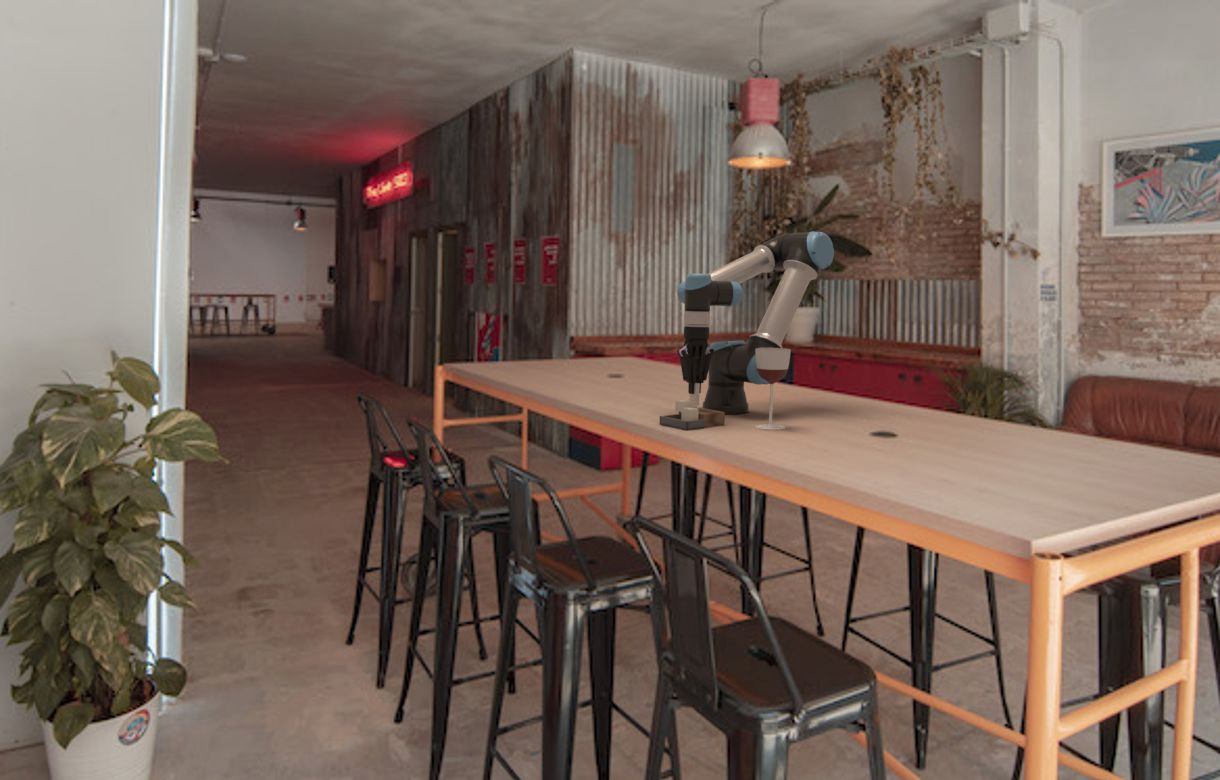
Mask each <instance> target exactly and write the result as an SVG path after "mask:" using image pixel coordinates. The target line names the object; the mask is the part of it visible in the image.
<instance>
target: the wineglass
mask: <svg viewBox="0 0 1220 780" xmlns="http://www.w3.org/2000/svg"><path fill="white" fill-rule="evenodd" d="M791 352H792V351H791V349H790V348H783V347H782V348H756V364H757V371H758V374H759V376H760V377H761V378H763V379H764V380H766V381H767V382H769V383H770V384H769V385H770V386H769V387H770V388H769V411H768V412H769V414H768V415H769V417H768V423H767V424H757V425H755V427H756V428H758V429H763V430H784V429H785V428H786V426H784V425H779V424H773V408H774V407H773V406H774V403H773V402H774V384H775V383H777V382H778V381H781V380H782V379H785V377H786V376H787V374H788V369H789V366H790V360H791Z"/></svg>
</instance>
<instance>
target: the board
mask: <svg viewBox="0 0 1220 780" xmlns="http://www.w3.org/2000/svg"><path fill="white" fill-rule="evenodd" d="M697 409H699V410H698V420H701V419H705V428H704V429H706V428H707V429H708V428H715V427H723V426H725V422H726V421H725V416H726V414H725V412H722V411H716V410H711V409H705V408H703V407H700V406H699V407H697ZM678 414H679V420H681V412H679V411H678Z"/></svg>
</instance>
